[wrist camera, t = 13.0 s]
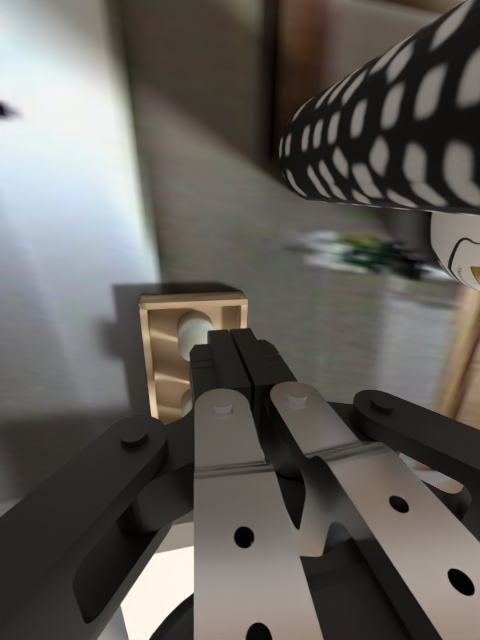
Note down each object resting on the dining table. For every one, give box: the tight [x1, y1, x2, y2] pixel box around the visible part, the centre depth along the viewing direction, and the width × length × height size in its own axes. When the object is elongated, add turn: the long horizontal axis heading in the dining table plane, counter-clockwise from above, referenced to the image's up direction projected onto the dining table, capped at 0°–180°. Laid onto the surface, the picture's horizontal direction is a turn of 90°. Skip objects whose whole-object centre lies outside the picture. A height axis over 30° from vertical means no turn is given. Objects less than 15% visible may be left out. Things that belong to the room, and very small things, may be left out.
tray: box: [139, 291, 248, 425], centre depth 29 cm, size 16×10×8 cm, turn 178°
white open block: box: [121, 449, 264, 640], centre depth 34 cm, size 16×14×13 cm
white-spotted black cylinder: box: [279, 0, 480, 216], centre depth 18 cm, size 8×8×20 cm
